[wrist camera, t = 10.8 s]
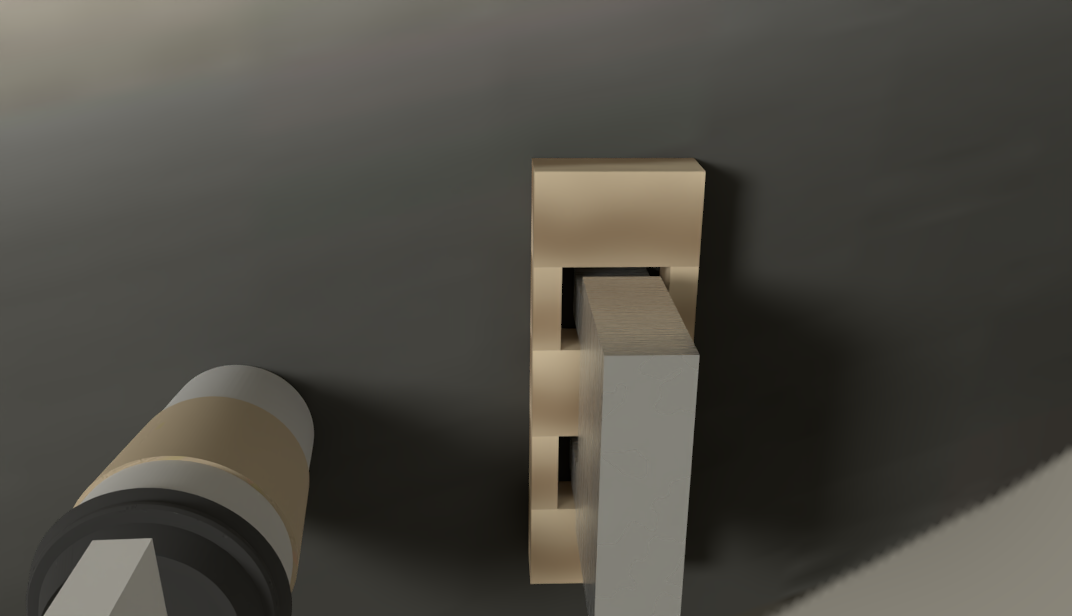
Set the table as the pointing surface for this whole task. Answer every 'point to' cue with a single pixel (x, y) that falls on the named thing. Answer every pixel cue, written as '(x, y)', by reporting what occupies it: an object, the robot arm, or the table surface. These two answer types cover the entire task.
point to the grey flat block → (632, 441)
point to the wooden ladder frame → (576, 241)
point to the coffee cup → (202, 499)
